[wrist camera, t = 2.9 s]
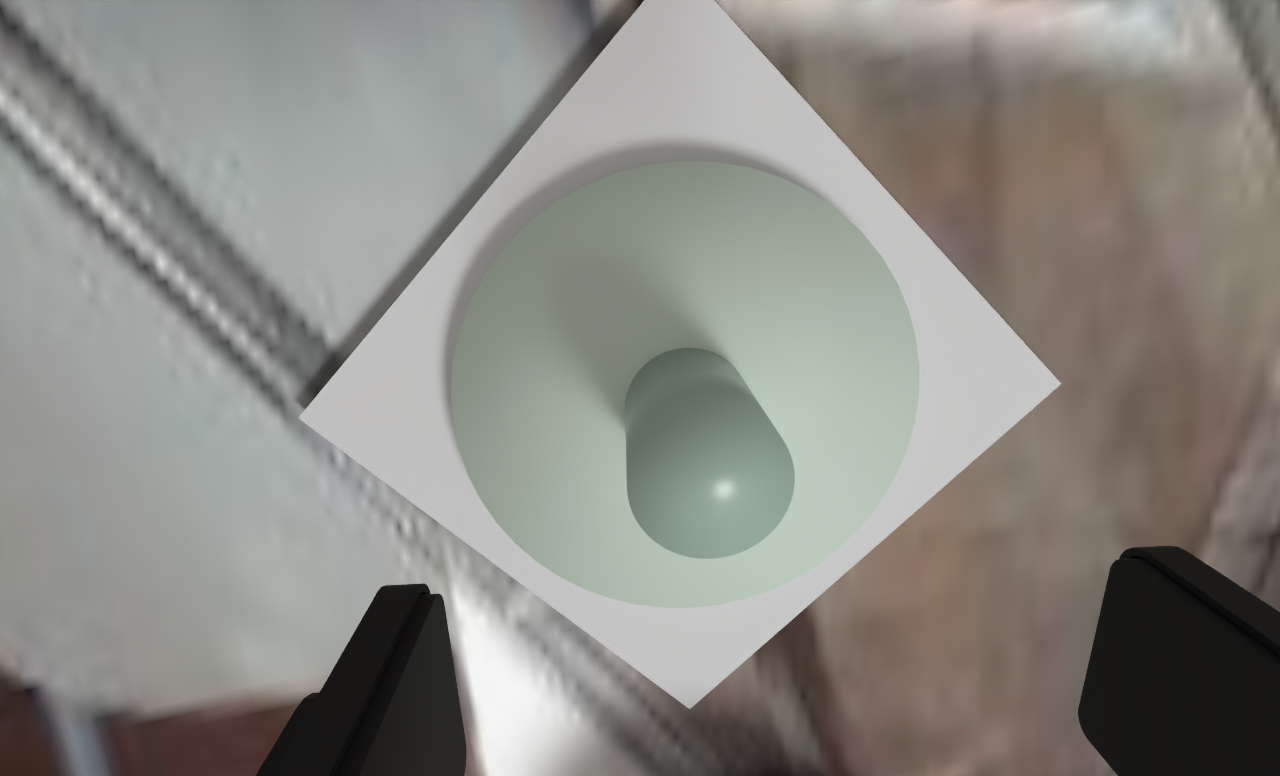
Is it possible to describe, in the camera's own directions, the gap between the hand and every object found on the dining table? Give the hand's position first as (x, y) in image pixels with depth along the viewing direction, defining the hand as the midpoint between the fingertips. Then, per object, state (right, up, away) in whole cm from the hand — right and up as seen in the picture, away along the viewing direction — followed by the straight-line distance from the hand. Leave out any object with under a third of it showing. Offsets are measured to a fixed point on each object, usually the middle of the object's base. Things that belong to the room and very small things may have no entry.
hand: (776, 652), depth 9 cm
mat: (0, +3, +13) cm, 13 cm away
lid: (0, +3, +12) cm, 13 cm away
